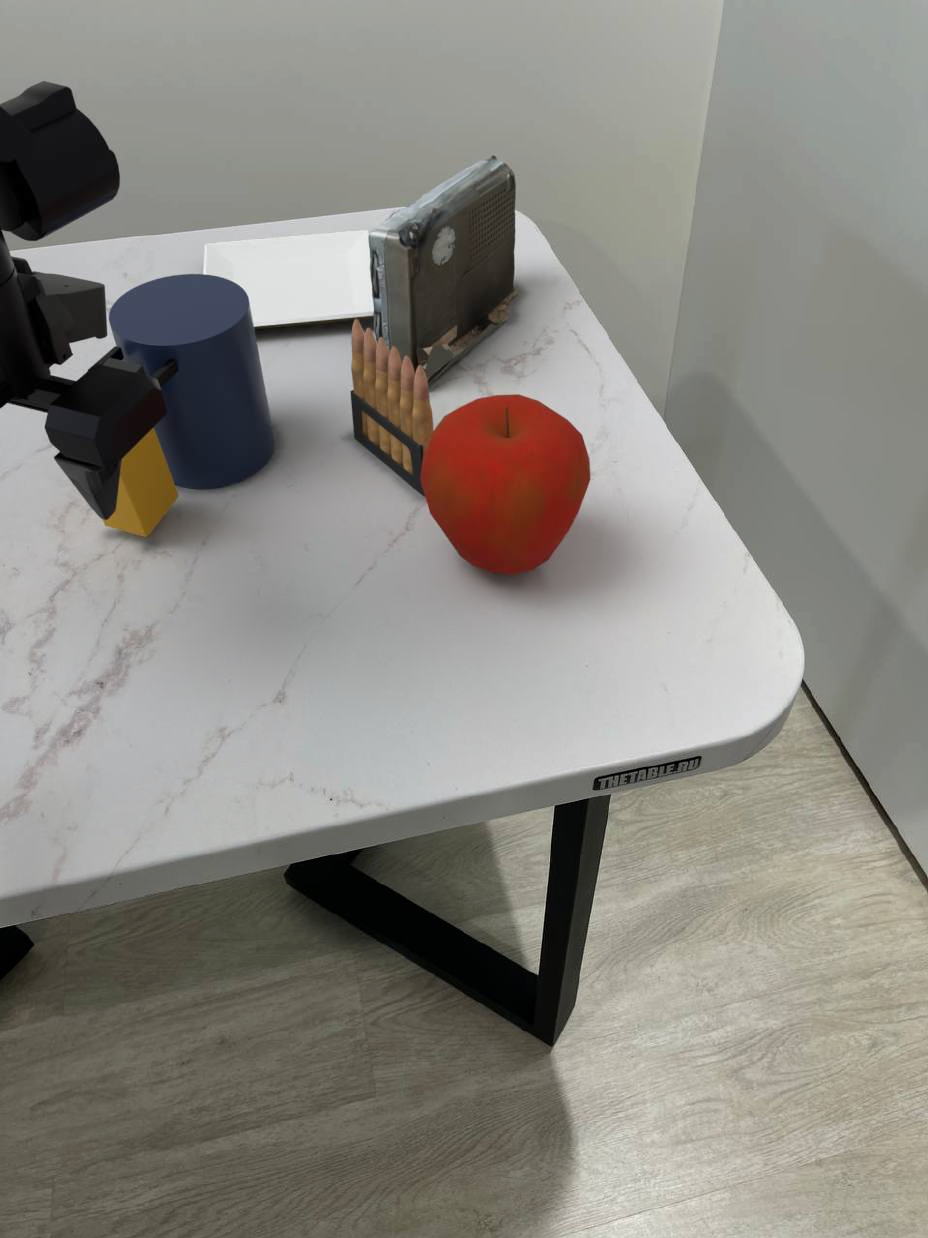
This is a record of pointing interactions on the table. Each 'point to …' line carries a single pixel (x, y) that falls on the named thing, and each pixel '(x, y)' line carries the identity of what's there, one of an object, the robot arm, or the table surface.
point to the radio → (446, 267)
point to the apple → (505, 481)
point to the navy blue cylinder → (199, 375)
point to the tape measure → (142, 480)
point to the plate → (298, 276)
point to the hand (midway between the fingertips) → (49, 499)
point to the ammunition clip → (390, 405)
